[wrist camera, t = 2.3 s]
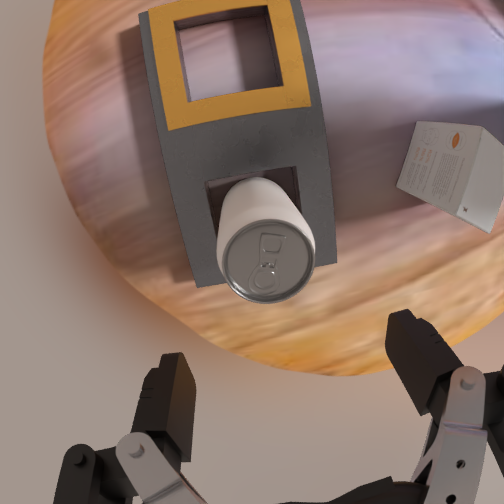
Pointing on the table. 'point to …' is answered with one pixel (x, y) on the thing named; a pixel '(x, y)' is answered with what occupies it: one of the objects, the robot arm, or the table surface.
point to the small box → (456, 171)
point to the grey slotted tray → (238, 124)
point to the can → (263, 243)
